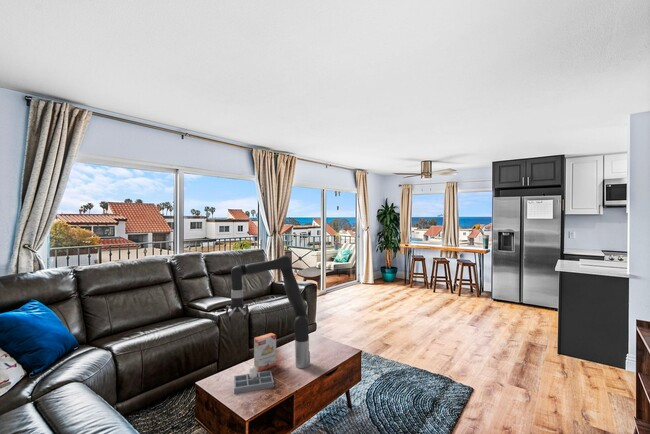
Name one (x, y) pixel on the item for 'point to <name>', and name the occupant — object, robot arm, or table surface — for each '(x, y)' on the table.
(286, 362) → the table surface
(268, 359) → the cracker box
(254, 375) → the egg
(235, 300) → the robot arm
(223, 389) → the table surface
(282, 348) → the table surface
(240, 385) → the egg tray
